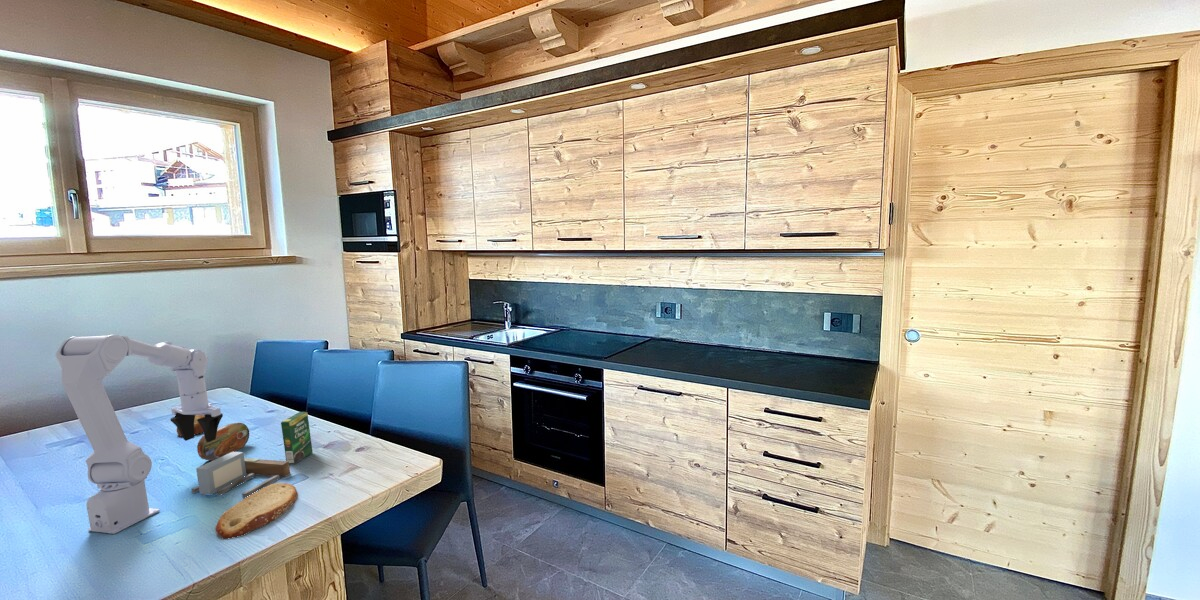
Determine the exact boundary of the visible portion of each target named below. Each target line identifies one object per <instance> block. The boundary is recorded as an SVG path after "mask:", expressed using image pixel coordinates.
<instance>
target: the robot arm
mask: <svg viewBox="0 0 1200 600" xmlns="http://www.w3.org/2000/svg"><path fill="white" fill-rule="evenodd" d="M130 356H132V357H138V358H144V359H147V361H148V362H149V363H150V364H151V365H154V366H159V367H164V368H169V369H170V370H171V371H173V372H175V374H176V379H177V384H178V387H177V388H178V392H179V399H180V405H177V406H173V407H171V415H172V417H171V418H170V422H172V423H173V425H175V427H176V429H177V428H178V429H179V431H180V433H181V434H182V436H183V437H182V436H181V437H182V438H183V440H184V441H189V440H191V439H194V438H195V435H194V419H195V415H205V417H203V418H200V419H197V421H198V422H199V424H200V425H201V427H202V429H203V432H204V433H203V436H205V439H206V441H207V442H210V441H212V440H215V439H216V434H217V429H219V424H220V422H221V420H222V418H223V416H224V415H223V413H222V412H221V407H217V406H213V403H211V402H209V399H208V391H207V383H206V378H205V375H206V374H207V366H208V363H209V356H207V355H206V353H205V352H204V351H202V350H201V349H189V348H187V346H185V345H180V346H178V345H173V342H172V341H163V342H159V343H156V344H151V343H148V342H144V341H142V340H141V341H140V340H138V339H134V338H130V337H129V336H127V335H125V336H124V335H119V334H109V335H94V336H93V335H92V336H90V335H89V336H88V335H87V336H78V335H76V336H75V335H74V336H71V337H68V338H66V339H64V341H62V343H61V345H60V346H59V348H58V349H57V351H56V352H55V357H56V359H57V361H58V363H59V365H60V367H61V383H62V387H63V389H64V391H65V393H66V395H67V397H68V399H69V401H70V403H71V405H72V408H73V410H74V412H75V415H76V416H77V419H78V421H79V422H80V424H81V426H82V429H83V431H84V433H85V436H86V437H87V439H88V441H89V443H90V445H91V448H92V450H93V452H92V453H91V454H90V455H89V456H88V457H87V458H86V460H85V463H86V465H87V478H88V480H89V482H90V483H92V484H95V485H96V487H97V490H98V489H99V491H97V493H95V494H94V495H92V496H90V497H89V498H88V499H87V501H86V510H87V511H86V512H87V517H88V522H89V528H88V529H87V530H88V531H89V532H94V533H95V532H96V533H105V534H113V535H114V534H117V533H120V532H121V531H123V530H125V529H128V528H129V527H132V526H133V525H134V524H137V523H139V522H141V521H143V520H145V519H147V518H148V517H151V516H152V515H153V516H154V515H155V514H157V513H159V512H160V508H152V507H149V501H148V494H147V487H146V482H145V480H147V478H148V476H149V475H150V472H151V470H152V464H153V463H152V459H151V457H150V456H149V455H147V454H146V453H144V450H143V449H142V447H141V446H139V445H138V444H135V443H133V442H131V441H129V440H128V439H127V437H126V434H125V432H124V430H123V427H122V425H121V423H120V420H119V419H118V416H117V413H116V411H115V409H114V407H113V405H112V402H111V400H110V399H109V397H108V394H107V391H106V389H105V386H104V384H103V379H104V378H106V377H107V376H109V375H110V374H111V373H112V372H113V371H114V369H116V367H118V365H120V363H121V362H122V361H123V360H124V359H125V358H126V357H130Z"/></svg>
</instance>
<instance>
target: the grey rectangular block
mask: <svg viewBox="0 0 1200 600" xmlns="http://www.w3.org/2000/svg"><path fill="white" fill-rule="evenodd" d="M244 454H245V453H244V451H243V452H242V451H235V452H231V453H229V454H227V455H224V456H222V457H220V458H218V459H216V460H210V462H207V463H205V464H202V465H200V466H198V467H195V470H196V477H197V478H196V479H197V483H198V486H199V491H198V492H199V495H206V494H210V495H209V496H212V495H213V493H214V494H215V493H216V491H218V490H220V489H222V488H224V487H226V486H228V485H230V484H231V483H233V482H235V481H237V480H239V479H241V478H243V477H244V476H246V475H247V474H246V468H245V461H244V458H245V455H244ZM211 494H212V495H211Z"/></svg>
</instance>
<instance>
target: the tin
mask: <svg viewBox="0 0 1200 600" xmlns="http://www.w3.org/2000/svg"><path fill="white" fill-rule="evenodd" d="M248 427H249V426H247V425H246V424H245V423H243V422H234V423H233V422H232V423H229V424H226V425H224V426H221V427H218V429H217V434H216V439H215V440H212V441H210V442H207V441H206V439H205V436H204V435H203V436H202V437H200V439H199V441H198V442H197V445H196V446H197V447H196V451H197V454H198V456H199V457H200V458H201V459H202V460H205V461H213V460H216V459H218V458H220V457H222V456H224V455H227V454H229V453H231V452H234V451H235V452H237V451H239V450H242V449H243V447H245V446H246V444H247V443H248V441H249V439H250V429H249V428H248ZM238 449H239V450H238ZM236 450H237V451H236Z"/></svg>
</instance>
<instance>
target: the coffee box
mask: <svg viewBox="0 0 1200 600" xmlns="http://www.w3.org/2000/svg"><path fill="white" fill-rule="evenodd" d="M309 421H310V420H309V415H308V412H307V411H299V412H297V413H295V414H294V415H292V416H289V417H288V418H286V419H284V420H282V421H281V422H280V426H281V433H282V434H281V435H282V440H283V448H284V454H285V461H289V465H296V464H298V463H299V462H301V460H303V459H305V458H306V457H308V456H310V455H311V454H312V453H313V445H312V436H311V430H310V423H309Z"/></svg>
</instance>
